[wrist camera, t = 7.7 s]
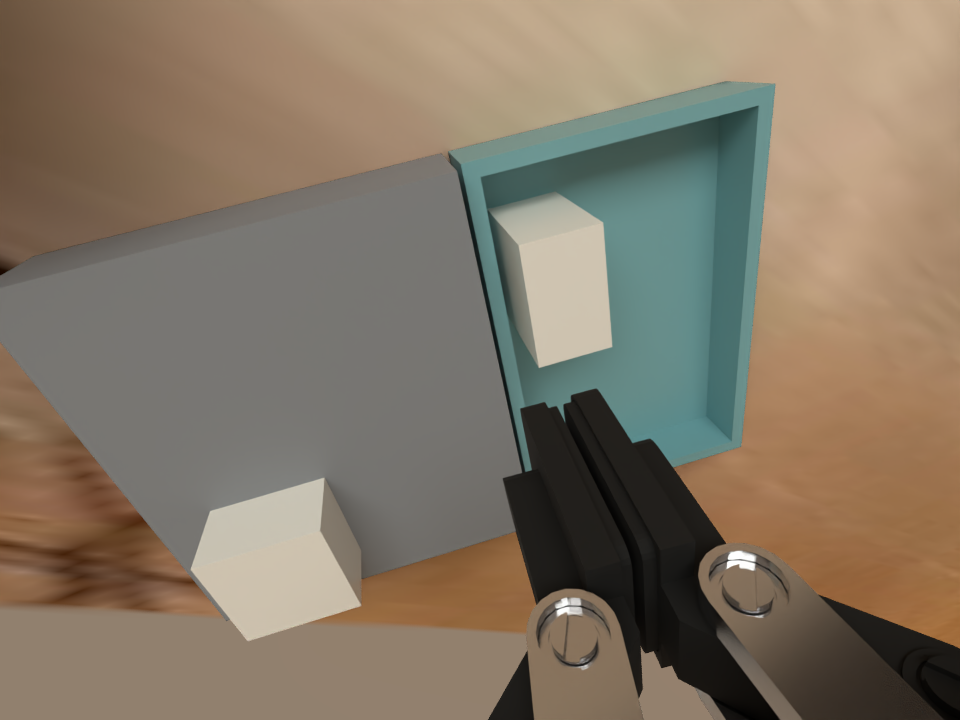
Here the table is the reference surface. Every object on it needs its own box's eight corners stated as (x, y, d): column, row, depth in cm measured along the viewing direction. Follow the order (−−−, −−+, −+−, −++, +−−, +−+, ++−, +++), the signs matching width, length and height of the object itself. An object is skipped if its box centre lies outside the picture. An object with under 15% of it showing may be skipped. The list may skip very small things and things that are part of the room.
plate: (441, 153, 21) (457, 171, 17) (513, 473, 30) (533, 526, 27) (32, 256, 19) (-37, 297, 16) (242, 555, 29) (226, 620, 25)
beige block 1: (324, 477, 22) (320, 531, 20) (361, 550, 25) (361, 605, 22) (210, 511, 22) (190, 569, 19) (259, 581, 25) (247, 641, 22)
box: (726, 81, 21) (775, 83, 19) (709, 414, 31) (741, 446, 28) (448, 151, 21) (460, 163, 18) (518, 472, 30) (533, 510, 27)
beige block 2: (486, 209, 21) (555, 191, 22) (507, 314, 24) (568, 297, 24) (518, 245, 17) (603, 222, 17) (539, 368, 20) (612, 346, 20)
